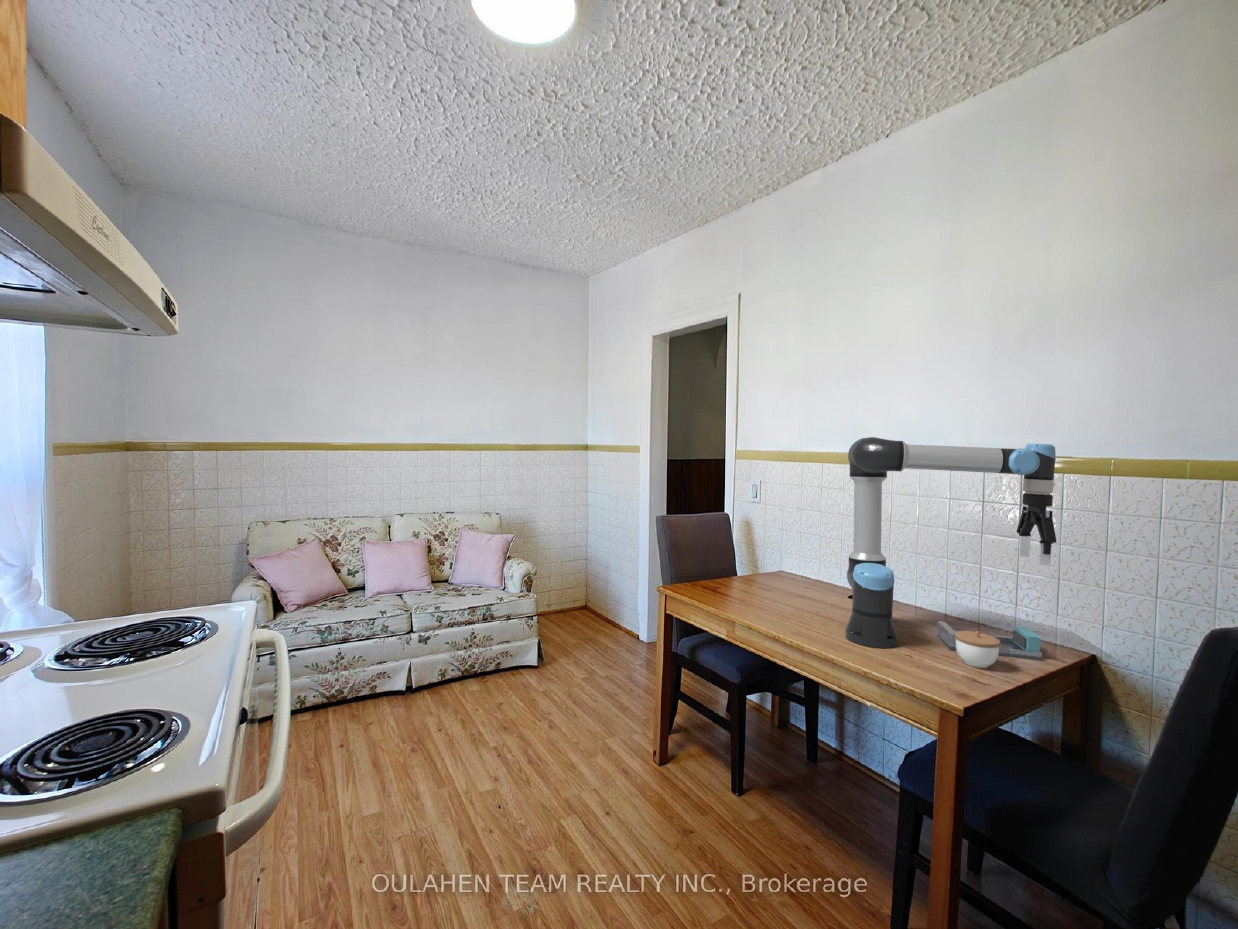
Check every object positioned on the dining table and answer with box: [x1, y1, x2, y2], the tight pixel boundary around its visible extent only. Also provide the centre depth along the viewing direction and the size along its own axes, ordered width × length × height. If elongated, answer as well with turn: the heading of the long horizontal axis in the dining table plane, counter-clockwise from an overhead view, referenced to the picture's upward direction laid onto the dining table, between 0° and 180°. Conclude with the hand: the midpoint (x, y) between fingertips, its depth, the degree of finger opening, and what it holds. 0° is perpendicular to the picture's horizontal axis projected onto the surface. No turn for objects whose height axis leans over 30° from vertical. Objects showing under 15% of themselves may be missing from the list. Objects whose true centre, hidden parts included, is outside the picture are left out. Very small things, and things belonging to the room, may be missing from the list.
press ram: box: [1012, 625, 1041, 652], centre depth 166 cm, size 4×10×5 cm, turn 164°
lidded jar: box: [955, 630, 1000, 669], centre depth 155 cm, size 11×11×9 cm
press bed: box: [936, 620, 1043, 661], centre depth 169 cm, size 24×13×5 cm, turn 74°
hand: (1033, 560), depth 170 cm, fingers open, 13 cm apart
